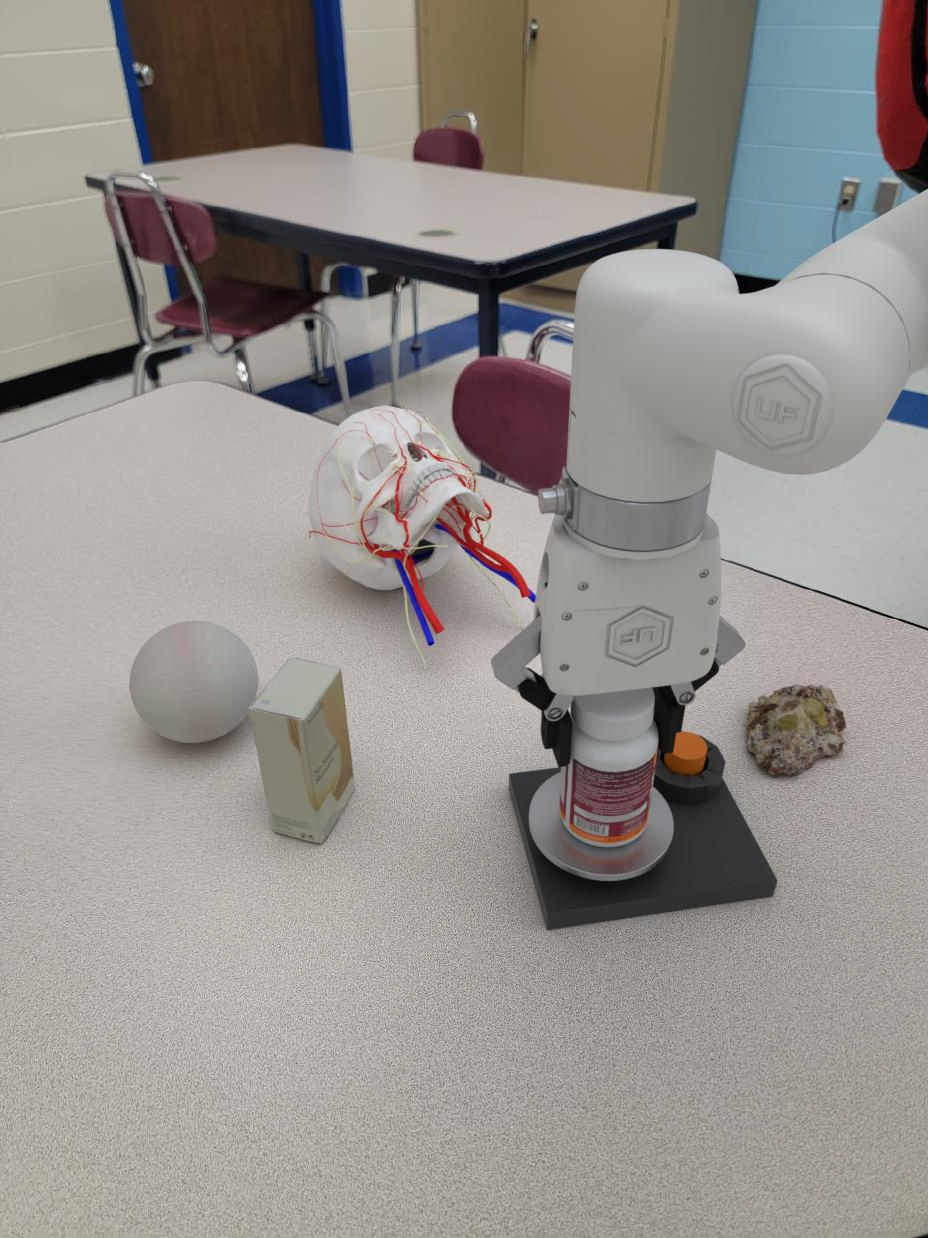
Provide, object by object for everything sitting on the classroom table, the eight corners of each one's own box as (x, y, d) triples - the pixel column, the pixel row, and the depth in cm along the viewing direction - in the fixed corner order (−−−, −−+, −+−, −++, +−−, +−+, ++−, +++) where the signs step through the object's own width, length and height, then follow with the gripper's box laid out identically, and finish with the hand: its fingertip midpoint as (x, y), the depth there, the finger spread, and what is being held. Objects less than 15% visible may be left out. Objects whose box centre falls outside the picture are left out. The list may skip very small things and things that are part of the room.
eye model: (138, 706, 79) (110, 613, 73) (253, 677, 82) (235, 586, 76) (151, 783, 72) (121, 686, 66) (277, 748, 75) (259, 653, 69)
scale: (701, 759, 73) (707, 727, 71) (773, 896, 62) (783, 863, 60) (507, 784, 71) (507, 752, 69) (546, 930, 60) (548, 897, 58)
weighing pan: (646, 763, 68) (646, 757, 67) (694, 869, 60) (695, 864, 59) (515, 780, 67) (515, 774, 66) (546, 891, 59) (547, 885, 58)
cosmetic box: (322, 847, 66) (302, 723, 59) (270, 833, 67) (243, 710, 60) (358, 785, 71) (343, 664, 64) (309, 773, 72) (289, 653, 65)
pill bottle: (665, 832, 62) (685, 707, 55) (587, 864, 60) (598, 738, 53) (616, 773, 66) (628, 651, 59) (542, 801, 64) (547, 678, 57)
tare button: (695, 745, 70) (698, 729, 69) (710, 773, 67) (713, 756, 66) (658, 750, 69) (660, 734, 68) (671, 778, 67) (674, 761, 66)
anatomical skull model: (416, 560, 70) (276, 398, 84) (404, 710, 83) (285, 550, 97) (577, 501, 77) (424, 361, 91) (543, 648, 91) (414, 507, 104)
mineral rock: (766, 663, 79) (861, 676, 74) (771, 703, 81) (864, 719, 76) (714, 735, 72) (816, 756, 67) (721, 778, 74) (820, 801, 69)
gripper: (488, 553, 44) (489, 805, 55) (820, 520, 46) (759, 769, 57) (464, 483, 50) (469, 722, 61) (759, 456, 52) (714, 693, 63)
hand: (609, 743), depth 59 cm, fingers closed on pill bottle, 6 cm apart
